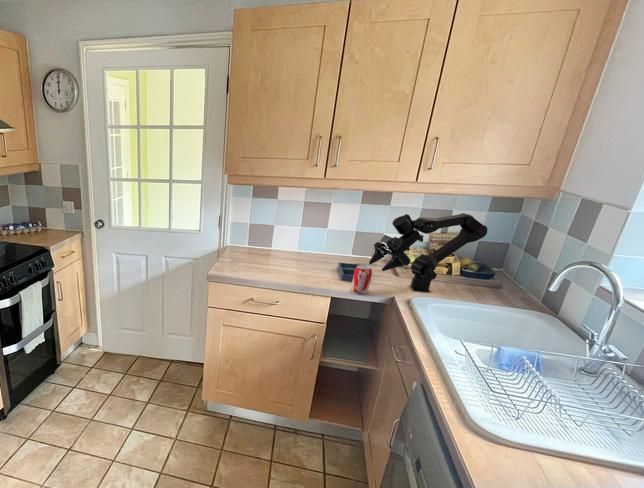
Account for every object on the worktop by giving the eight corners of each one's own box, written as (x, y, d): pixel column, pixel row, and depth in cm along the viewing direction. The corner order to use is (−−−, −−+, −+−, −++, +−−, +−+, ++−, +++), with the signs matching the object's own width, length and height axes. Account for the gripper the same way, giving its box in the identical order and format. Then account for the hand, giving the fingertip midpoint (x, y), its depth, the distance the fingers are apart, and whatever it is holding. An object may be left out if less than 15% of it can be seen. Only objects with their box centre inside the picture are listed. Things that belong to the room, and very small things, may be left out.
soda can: (349, 293, 183) (354, 267, 178) (351, 288, 189) (356, 263, 184) (367, 296, 180) (372, 270, 175) (367, 290, 186) (373, 265, 181)
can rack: (358, 269, 212) (360, 264, 211) (364, 282, 195) (365, 276, 194) (337, 267, 214) (338, 262, 213) (341, 280, 198) (342, 274, 196)
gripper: (382, 223, 182) (354, 248, 186) (411, 234, 166) (379, 261, 169) (394, 240, 187) (366, 264, 190) (423, 252, 170) (392, 278, 173)
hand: (375, 266), depth 180 cm, fingers open, 9 cm apart
